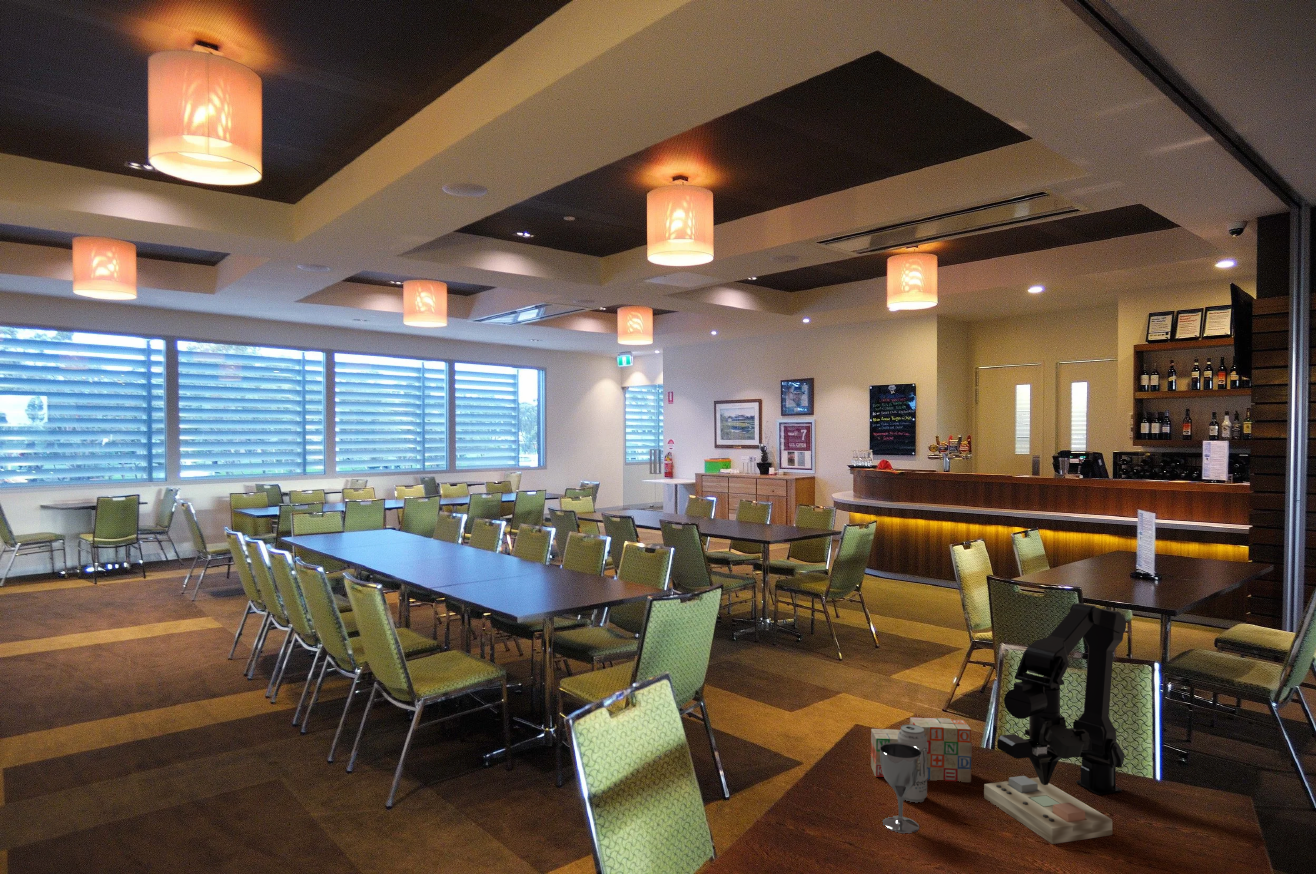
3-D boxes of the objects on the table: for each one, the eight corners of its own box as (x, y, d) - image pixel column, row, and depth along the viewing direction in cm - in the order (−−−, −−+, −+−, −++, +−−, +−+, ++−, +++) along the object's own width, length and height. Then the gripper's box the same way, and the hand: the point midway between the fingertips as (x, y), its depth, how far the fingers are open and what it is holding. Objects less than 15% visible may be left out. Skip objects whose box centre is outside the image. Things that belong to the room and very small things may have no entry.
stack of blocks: (875, 778, 180) (875, 724, 180) (870, 767, 186) (870, 715, 186) (971, 782, 178) (971, 728, 178) (963, 771, 184) (963, 718, 184)
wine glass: (882, 832, 155) (882, 756, 155) (877, 813, 163) (878, 741, 163) (924, 836, 153) (924, 759, 153) (917, 816, 161) (917, 743, 161)
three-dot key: (1024, 784, 171) (1024, 775, 171) (1037, 792, 167) (1037, 783, 167) (1008, 786, 170) (1008, 777, 170) (1021, 794, 166) (1021, 785, 166)
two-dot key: (1069, 811, 158) (1069, 802, 158) (1085, 821, 154) (1085, 811, 154) (1053, 814, 157) (1053, 804, 157) (1068, 823, 153) (1068, 813, 153)
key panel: (1038, 790, 173) (1038, 776, 173) (1112, 835, 154) (1112, 818, 154) (984, 798, 170) (984, 783, 170) (1052, 844, 150) (1052, 827, 150)
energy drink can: (916, 806, 166) (916, 735, 166) (892, 796, 170) (892, 727, 170) (932, 798, 169) (932, 729, 169) (908, 789, 174) (908, 721, 174)
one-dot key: (1046, 804, 164) (1046, 795, 164) (1060, 813, 160) (1060, 804, 160) (1030, 806, 163) (1029, 797, 163) (1043, 815, 159) (1043, 806, 159)
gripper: (1033, 726, 152) (1033, 807, 152) (1113, 718, 156) (1113, 796, 156) (995, 707, 163) (995, 782, 162) (1071, 700, 167) (1071, 773, 167)
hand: (1044, 784), depth 162 cm, fingers closed
